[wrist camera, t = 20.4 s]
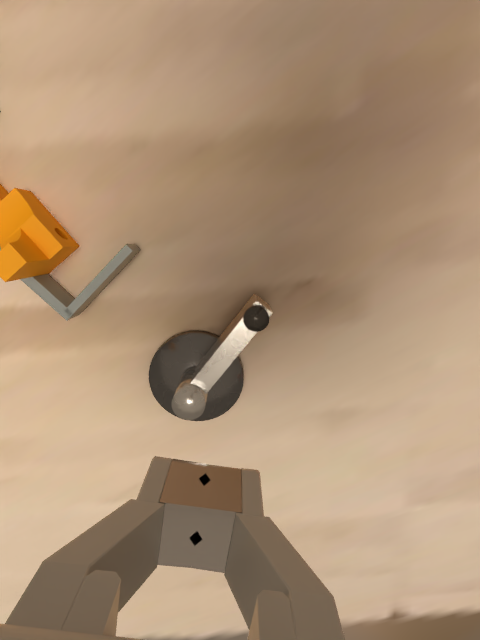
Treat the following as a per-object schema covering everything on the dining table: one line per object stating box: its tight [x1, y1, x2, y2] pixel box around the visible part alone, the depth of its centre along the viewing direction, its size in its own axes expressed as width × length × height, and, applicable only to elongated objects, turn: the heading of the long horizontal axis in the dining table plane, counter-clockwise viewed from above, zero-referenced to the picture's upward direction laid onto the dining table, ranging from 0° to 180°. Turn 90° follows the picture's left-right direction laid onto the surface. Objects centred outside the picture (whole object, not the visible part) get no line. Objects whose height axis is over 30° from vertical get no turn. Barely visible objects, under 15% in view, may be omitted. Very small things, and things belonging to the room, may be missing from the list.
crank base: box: [149, 331, 243, 421], centre depth 35 cm, size 10×10×1 cm
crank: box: [172, 293, 272, 420], centre depth 31 cm, size 12×3×5 cm, turn 142°
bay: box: [0, 111, 140, 320], centre depth 30 cm, size 10×18×2 cm, turn 44°
